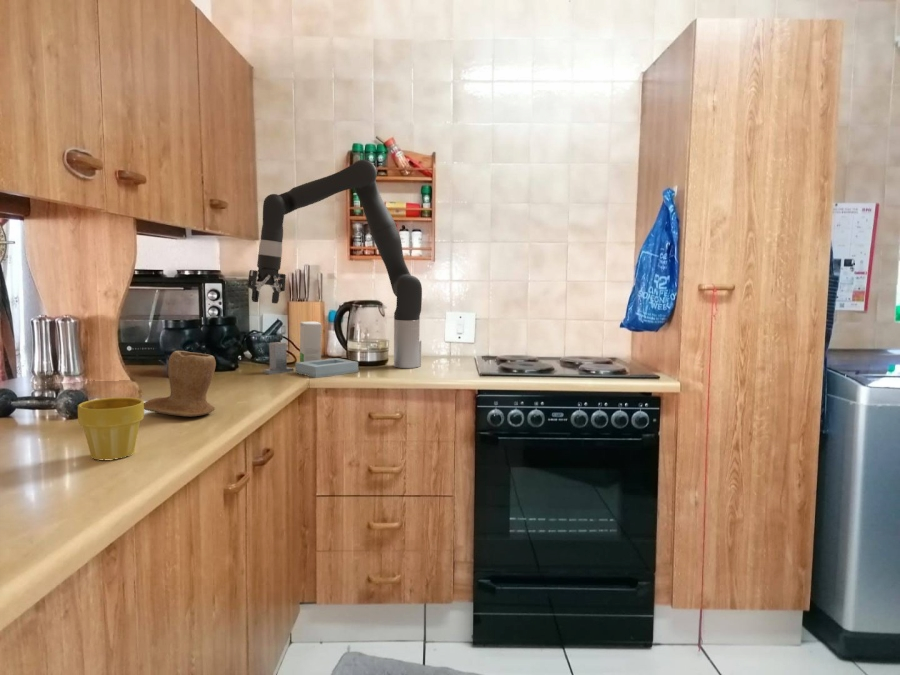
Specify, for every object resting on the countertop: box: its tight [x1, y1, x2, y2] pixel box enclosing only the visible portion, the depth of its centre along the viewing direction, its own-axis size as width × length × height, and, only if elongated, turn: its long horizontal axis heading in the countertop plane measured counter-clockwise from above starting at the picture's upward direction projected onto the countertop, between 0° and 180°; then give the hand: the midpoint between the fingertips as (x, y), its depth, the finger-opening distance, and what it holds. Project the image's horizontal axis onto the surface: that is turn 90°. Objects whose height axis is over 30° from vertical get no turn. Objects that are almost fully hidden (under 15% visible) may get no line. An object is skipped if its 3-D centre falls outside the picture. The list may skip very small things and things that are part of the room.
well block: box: [294, 357, 359, 379], centre depth 196 cm, size 17×12×4 cm
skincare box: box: [299, 320, 323, 362], centre depth 213 cm, size 8×7×16 cm
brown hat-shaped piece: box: [144, 350, 217, 417], centre depth 136 cm, size 15×12×15 cm
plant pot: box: [77, 396, 145, 460], centre depth 105 cm, size 10×10×10 cm
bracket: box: [262, 341, 294, 376], centre depth 195 cm, size 9×4×10 cm, turn 137°
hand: (265, 302), depth 197 cm, fingers open, 8 cm apart
